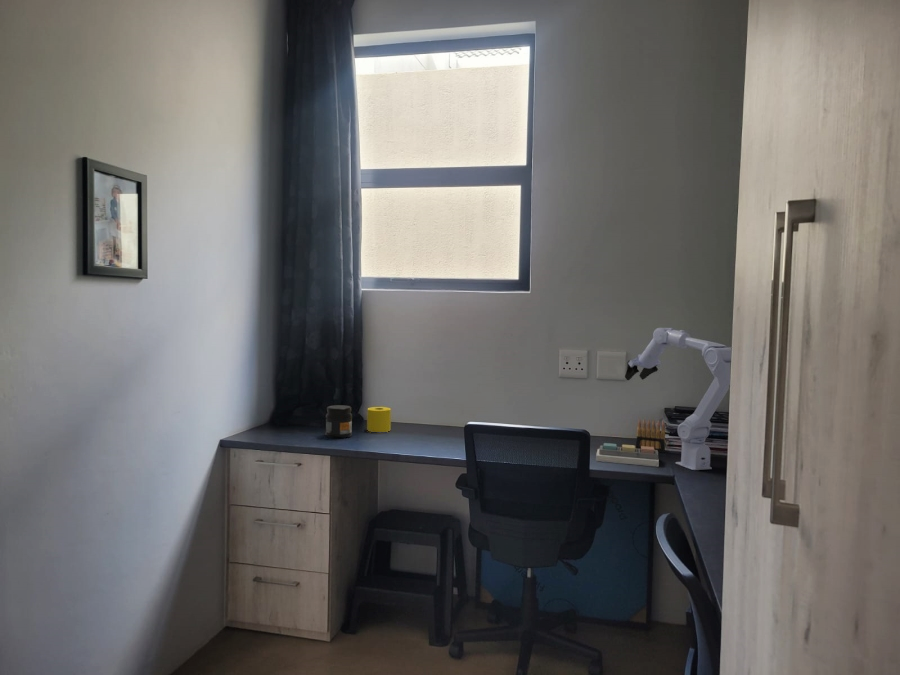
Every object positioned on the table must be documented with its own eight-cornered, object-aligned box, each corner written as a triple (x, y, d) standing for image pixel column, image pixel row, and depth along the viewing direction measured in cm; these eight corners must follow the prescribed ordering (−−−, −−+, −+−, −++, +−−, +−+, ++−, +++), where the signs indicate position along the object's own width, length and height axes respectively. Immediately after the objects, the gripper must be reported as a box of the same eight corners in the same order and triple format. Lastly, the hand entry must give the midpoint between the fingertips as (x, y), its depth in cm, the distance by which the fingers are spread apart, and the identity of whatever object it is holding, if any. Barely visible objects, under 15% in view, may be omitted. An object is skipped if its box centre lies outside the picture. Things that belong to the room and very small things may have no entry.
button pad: (657, 459, 223) (657, 449, 223) (658, 466, 212) (659, 455, 212) (597, 454, 229) (597, 444, 229) (595, 461, 218) (596, 450, 218)
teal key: (616, 448, 224) (616, 444, 224) (615, 451, 219) (616, 446, 219) (603, 447, 225) (604, 442, 225) (603, 450, 221) (603, 445, 221)
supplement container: (356, 436, 249) (357, 407, 248) (334, 440, 242) (334, 410, 241) (342, 432, 257) (343, 404, 256) (320, 435, 250) (321, 406, 249)
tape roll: (392, 432, 258) (392, 410, 258) (368, 433, 256) (368, 411, 256) (388, 428, 268) (389, 406, 268) (366, 428, 266) (366, 407, 265)
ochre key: (634, 450, 222) (634, 445, 222) (634, 453, 218) (635, 448, 217) (622, 449, 223) (622, 444, 223) (622, 452, 219) (622, 447, 219)
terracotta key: (653, 452, 220) (653, 447, 220) (654, 454, 216) (654, 449, 216) (640, 451, 221) (641, 446, 221) (641, 453, 217) (641, 448, 217)
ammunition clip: (635, 449, 239) (636, 418, 238) (636, 448, 240) (637, 418, 240) (664, 452, 234) (665, 421, 234) (665, 451, 236) (666, 420, 235)
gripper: (660, 345, 237) (642, 370, 245) (632, 346, 230) (614, 371, 238) (670, 358, 232) (651, 383, 240) (642, 359, 225) (624, 384, 233)
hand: (634, 378), depth 239 cm, fingers open, 7 cm apart
